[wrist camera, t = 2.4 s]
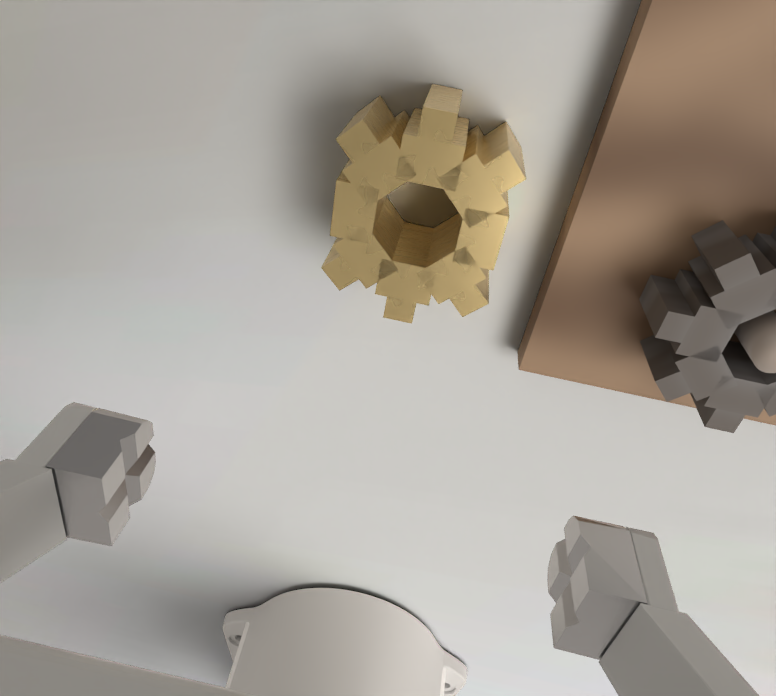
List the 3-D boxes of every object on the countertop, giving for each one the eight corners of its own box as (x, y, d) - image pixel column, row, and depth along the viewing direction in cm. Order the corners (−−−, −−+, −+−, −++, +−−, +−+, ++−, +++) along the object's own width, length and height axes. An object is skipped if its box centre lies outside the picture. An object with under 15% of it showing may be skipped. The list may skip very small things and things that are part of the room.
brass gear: (479, 291, 28) (478, 337, 25) (337, 261, 28) (317, 303, 25) (533, 104, 23) (540, 131, 20) (362, 69, 23) (341, 90, 20)
